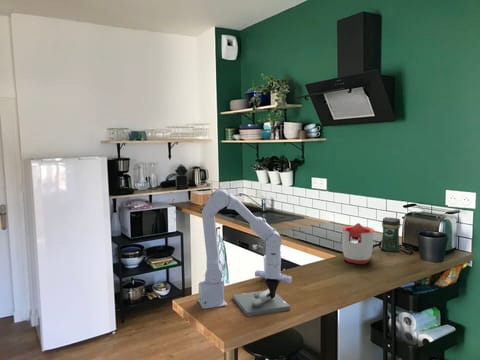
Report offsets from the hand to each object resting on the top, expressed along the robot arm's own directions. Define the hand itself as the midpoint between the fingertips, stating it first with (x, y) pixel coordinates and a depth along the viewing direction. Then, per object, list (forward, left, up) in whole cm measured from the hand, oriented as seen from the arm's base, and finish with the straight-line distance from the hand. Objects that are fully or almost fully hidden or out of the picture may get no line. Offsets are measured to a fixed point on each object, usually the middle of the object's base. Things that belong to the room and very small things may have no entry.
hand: (272, 297), depth 150 cm
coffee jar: (+93, +46, -3) cm, 104 cm away
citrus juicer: (+62, +34, -3) cm, 71 cm away
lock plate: (-5, +1, -3) cm, 5 cm away
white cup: (+11, +26, -3) cm, 28 cm away
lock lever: (-5, -1, -1) cm, 5 cm away
